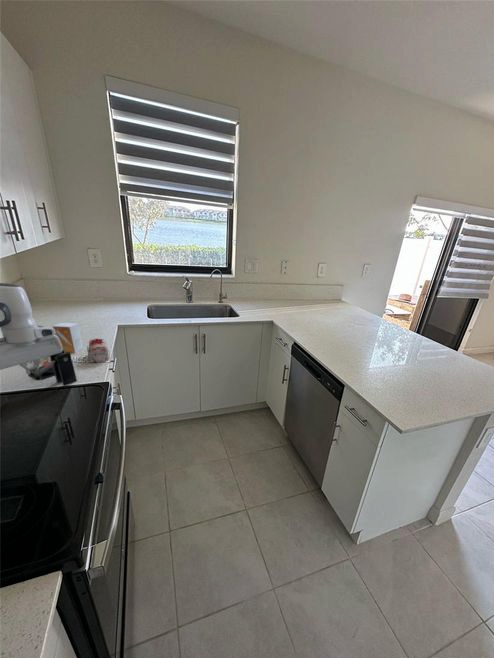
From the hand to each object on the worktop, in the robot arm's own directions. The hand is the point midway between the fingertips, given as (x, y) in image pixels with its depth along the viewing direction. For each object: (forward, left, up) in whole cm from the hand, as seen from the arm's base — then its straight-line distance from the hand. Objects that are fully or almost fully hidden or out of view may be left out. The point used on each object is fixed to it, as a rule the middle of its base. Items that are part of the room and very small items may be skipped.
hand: (33, 372), depth 99 cm
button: (+10, +11, -4) cm, 15 cm away
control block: (+10, +11, -8) cm, 17 cm away
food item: (+30, +11, -8) cm, 33 cm away
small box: (+30, +33, -8) cm, 45 cm away
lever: (+5, -2, 0) cm, 5 cm away
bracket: (+9, -2, -8) cm, 12 cm away
